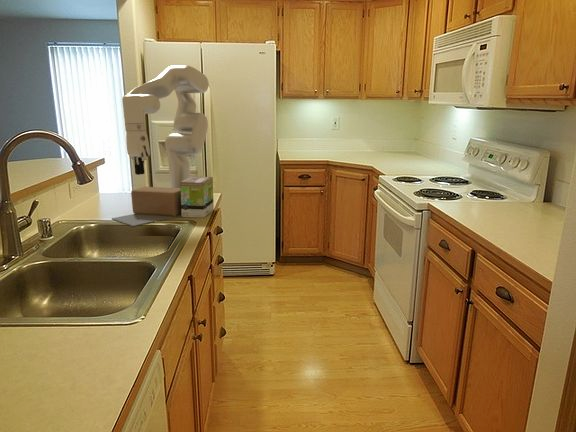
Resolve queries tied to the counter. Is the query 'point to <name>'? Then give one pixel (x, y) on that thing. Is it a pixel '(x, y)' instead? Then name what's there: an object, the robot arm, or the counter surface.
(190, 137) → the robot arm
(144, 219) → the mat
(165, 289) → the counter surface
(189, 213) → the tea box
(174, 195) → the block
